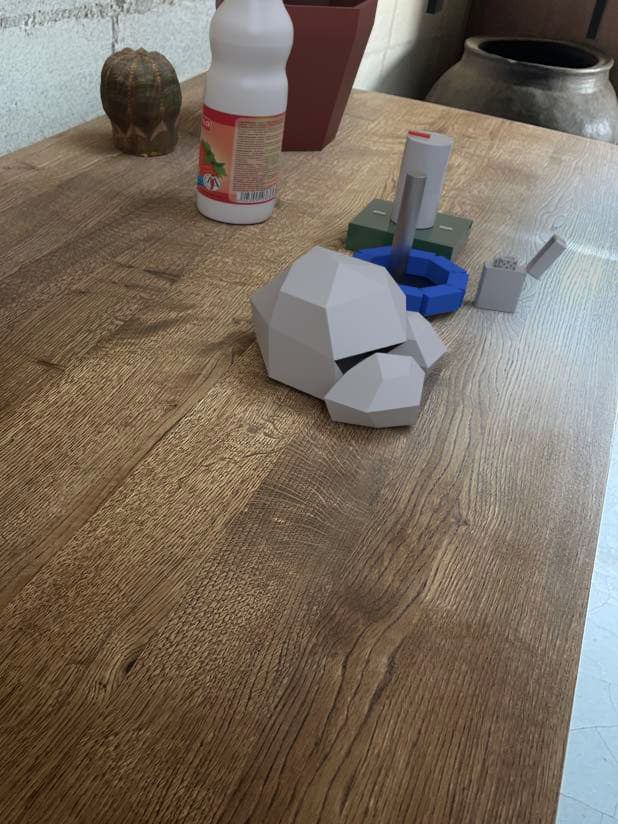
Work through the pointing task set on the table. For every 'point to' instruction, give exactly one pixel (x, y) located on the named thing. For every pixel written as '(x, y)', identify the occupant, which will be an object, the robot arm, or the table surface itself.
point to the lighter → (513, 277)
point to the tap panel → (440, 238)
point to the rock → (346, 338)
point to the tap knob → (430, 158)
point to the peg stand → (408, 232)
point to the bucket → (322, 67)
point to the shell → (141, 101)
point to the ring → (434, 269)
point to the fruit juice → (244, 110)
